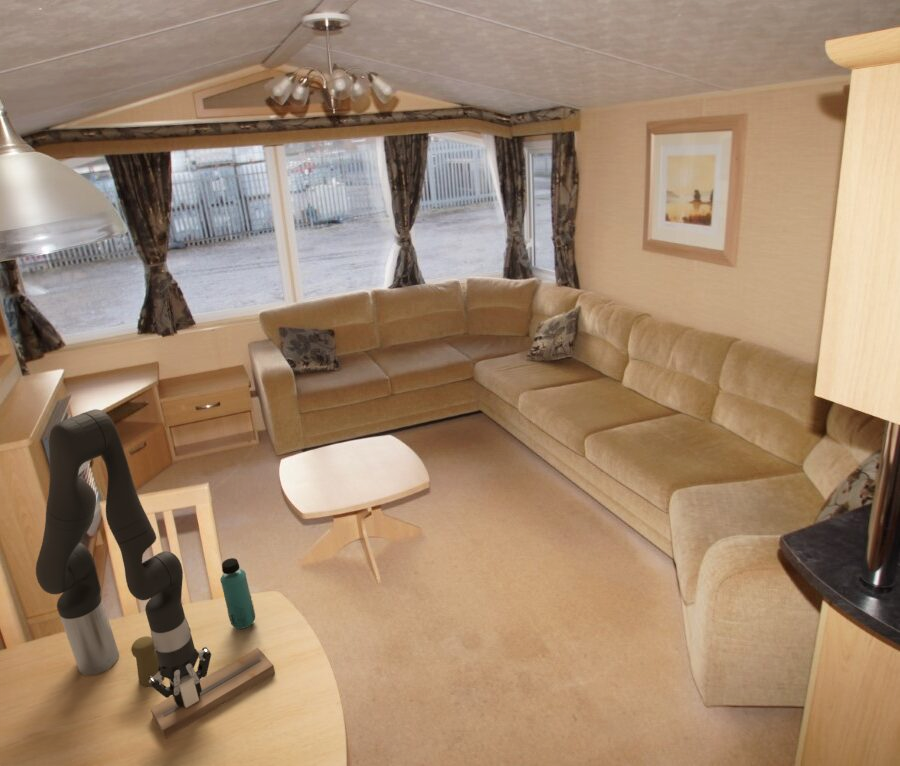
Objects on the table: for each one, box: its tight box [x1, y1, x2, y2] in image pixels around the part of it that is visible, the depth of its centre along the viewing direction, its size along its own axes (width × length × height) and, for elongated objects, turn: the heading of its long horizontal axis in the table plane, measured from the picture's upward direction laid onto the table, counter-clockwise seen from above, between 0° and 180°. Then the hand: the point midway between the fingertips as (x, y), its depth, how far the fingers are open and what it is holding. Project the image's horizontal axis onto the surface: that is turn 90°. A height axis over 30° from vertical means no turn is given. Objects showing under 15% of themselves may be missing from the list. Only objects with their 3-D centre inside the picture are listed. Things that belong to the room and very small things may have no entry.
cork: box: [130, 635, 166, 688], centre depth 162 cm, size 6×6×11 cm
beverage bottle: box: [220, 557, 257, 630], centre depth 175 cm, size 6×7×20 cm
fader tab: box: [179, 674, 199, 708], centre depth 152 cm, size 4×3×7 cm
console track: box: [150, 647, 276, 740], centre depth 157 cm, size 8×26×3 cm, turn 131°
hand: (188, 698), depth 153 cm, fingers closed on fader tab, 3 cm apart
